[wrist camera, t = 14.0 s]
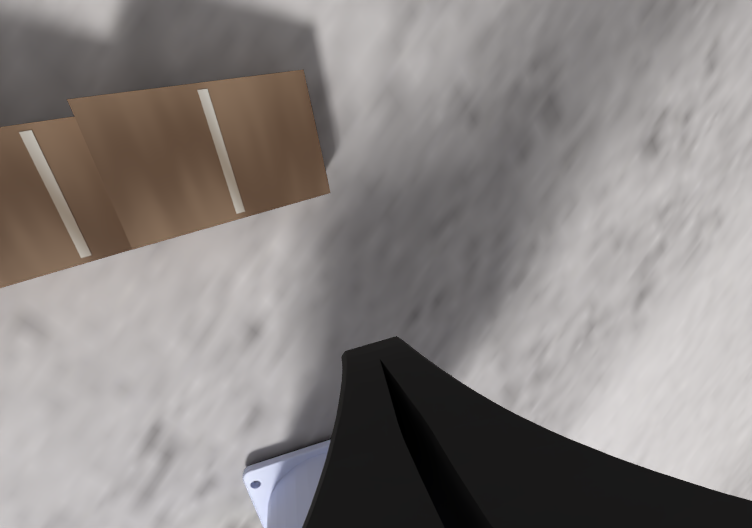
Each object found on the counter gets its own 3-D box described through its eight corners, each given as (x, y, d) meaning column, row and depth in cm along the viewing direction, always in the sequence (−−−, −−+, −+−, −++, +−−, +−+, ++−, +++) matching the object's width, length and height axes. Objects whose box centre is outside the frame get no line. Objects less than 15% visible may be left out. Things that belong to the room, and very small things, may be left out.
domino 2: (330, 193, 15) (132, 249, 12) (314, 189, 17) (132, 240, 14) (303, 69, 14) (66, 99, 11) (287, 77, 15) (73, 105, 12)
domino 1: (197, 230, 15) (-50, 302, 11) (190, 224, 16) (-33, 287, 13) (151, 105, 13) (-152, 148, 10) (148, 110, 14) (-120, 149, 11)
